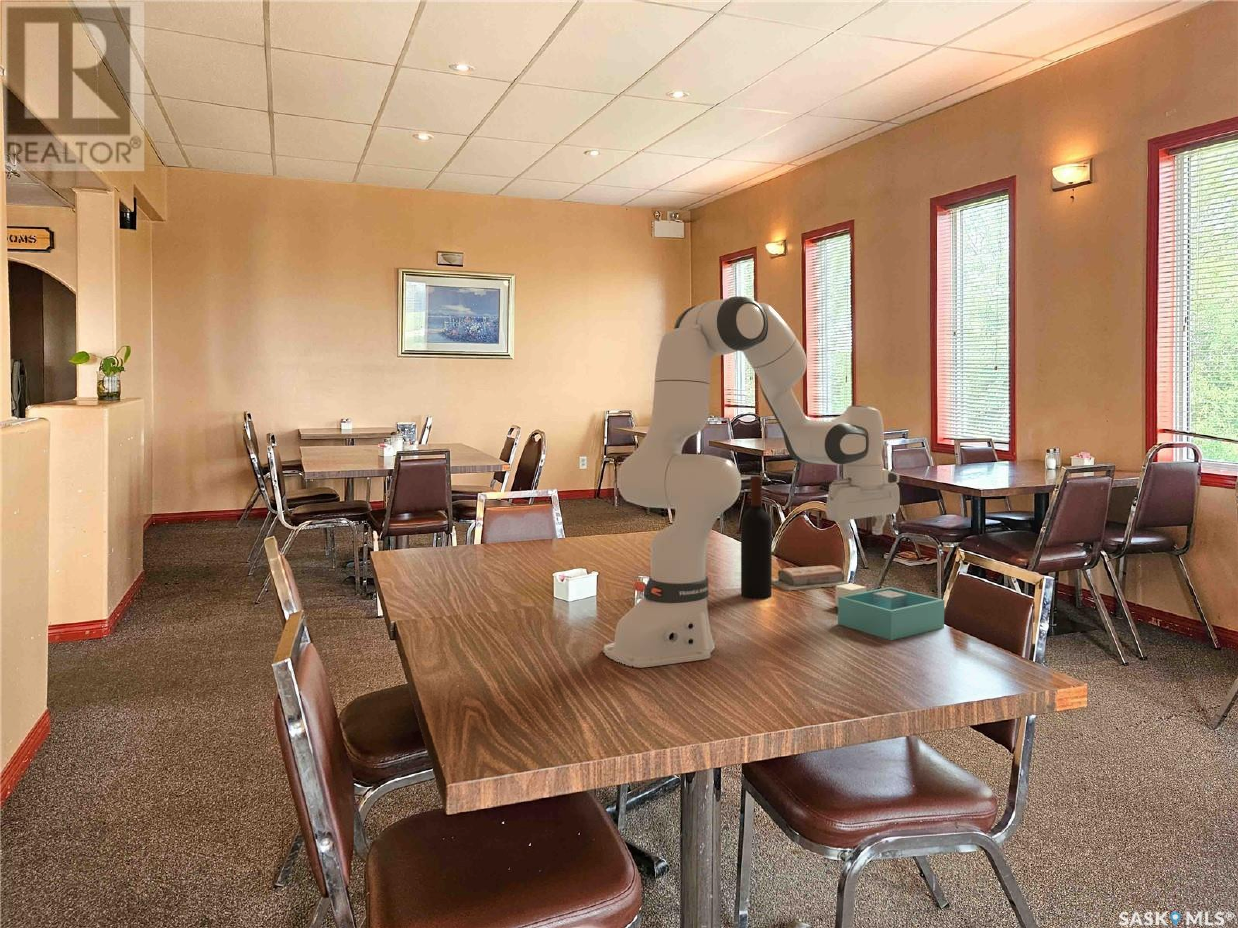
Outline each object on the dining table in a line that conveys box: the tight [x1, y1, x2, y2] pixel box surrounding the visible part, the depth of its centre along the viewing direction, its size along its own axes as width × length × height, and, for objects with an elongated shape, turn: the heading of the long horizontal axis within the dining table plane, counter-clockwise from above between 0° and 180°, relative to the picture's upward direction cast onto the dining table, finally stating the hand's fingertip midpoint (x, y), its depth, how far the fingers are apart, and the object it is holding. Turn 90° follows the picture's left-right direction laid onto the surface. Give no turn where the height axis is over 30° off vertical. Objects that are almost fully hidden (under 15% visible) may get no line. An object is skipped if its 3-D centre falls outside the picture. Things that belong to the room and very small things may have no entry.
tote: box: [837, 586, 945, 641], centre depth 181 cm, size 17×15×6 cm
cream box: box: [834, 582, 868, 608], centre depth 198 cm, size 5×5×5 cm
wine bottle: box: [740, 475, 773, 600], centre depth 209 cm, size 8×8×30 cm
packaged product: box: [772, 564, 850, 592], centre depth 221 cm, size 18×5×10 cm
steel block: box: [873, 590, 907, 610], centre depth 181 cm, size 5×5×6 cm
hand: (862, 536), depth 192 cm, fingers open, 8 cm apart
